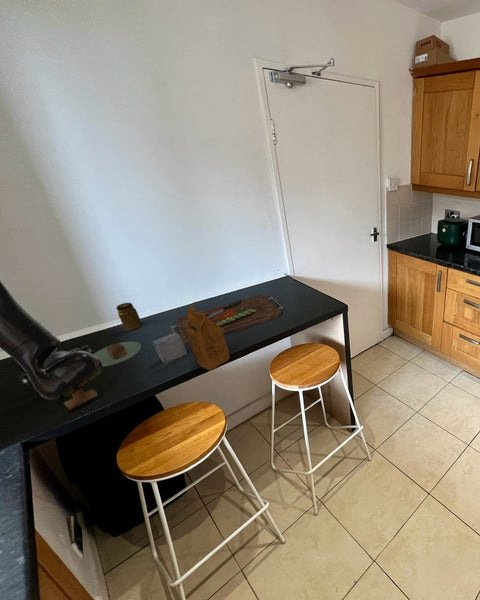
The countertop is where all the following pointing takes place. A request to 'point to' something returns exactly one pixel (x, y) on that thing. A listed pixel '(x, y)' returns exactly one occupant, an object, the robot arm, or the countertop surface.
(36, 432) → the countertop surface
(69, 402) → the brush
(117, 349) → the reddish brown cube
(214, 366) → the coffee package
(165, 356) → the medicine box
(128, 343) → the turntable plate
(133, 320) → the condiment
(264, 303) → the chopping board
